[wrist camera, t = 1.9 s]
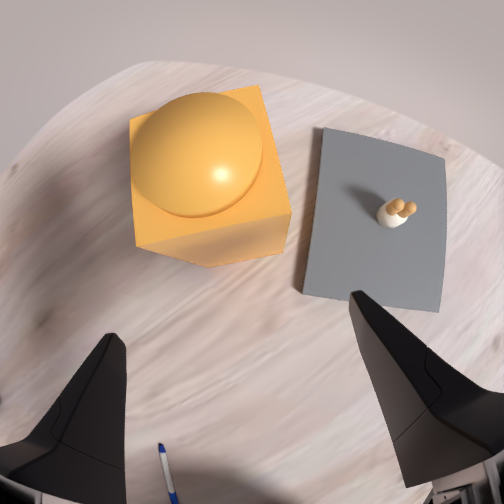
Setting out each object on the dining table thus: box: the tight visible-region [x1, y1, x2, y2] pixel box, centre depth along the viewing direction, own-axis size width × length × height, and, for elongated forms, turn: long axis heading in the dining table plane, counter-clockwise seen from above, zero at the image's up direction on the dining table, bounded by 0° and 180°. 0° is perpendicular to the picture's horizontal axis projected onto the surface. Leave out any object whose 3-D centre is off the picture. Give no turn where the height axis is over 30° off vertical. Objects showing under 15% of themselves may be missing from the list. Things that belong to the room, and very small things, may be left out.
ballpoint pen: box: [159, 444, 178, 504], centre depth 21 cm, size 10×1×1 cm, turn 4°
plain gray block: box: [302, 128, 447, 313], centre depth 20 cm, size 14×12×5 cm
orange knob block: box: [130, 85, 292, 268], centre depth 17 cm, size 6×6×14 cm
